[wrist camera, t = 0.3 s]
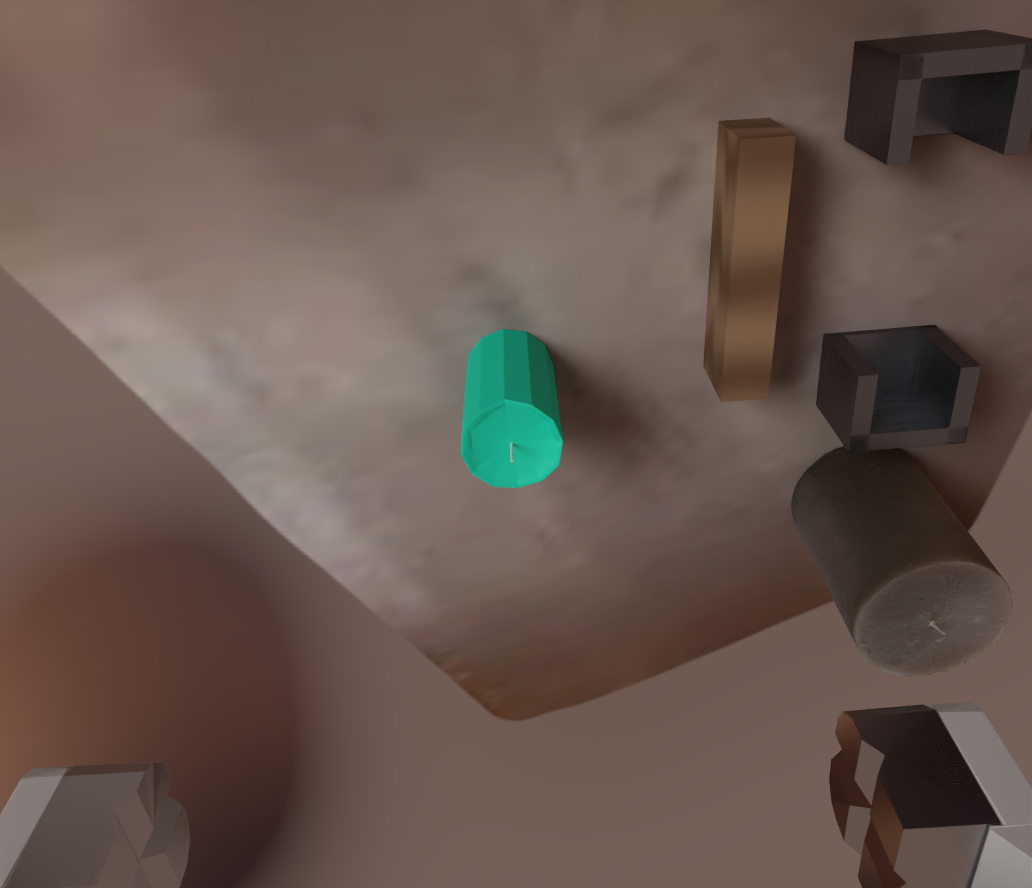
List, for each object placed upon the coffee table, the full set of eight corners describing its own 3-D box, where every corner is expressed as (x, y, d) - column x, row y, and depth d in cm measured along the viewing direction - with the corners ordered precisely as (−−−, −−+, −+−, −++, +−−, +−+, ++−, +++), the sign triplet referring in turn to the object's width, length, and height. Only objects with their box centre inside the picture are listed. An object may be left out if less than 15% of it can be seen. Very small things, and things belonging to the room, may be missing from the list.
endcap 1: (854, 41, 49) (901, 55, 43) (986, 29, 49) (1049, 41, 43) (844, 140, 52) (886, 164, 46) (968, 129, 52) (1026, 152, 46)
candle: (567, 347, 58) (582, 435, 48) (532, 419, 61) (539, 517, 51) (484, 315, 57) (481, 399, 47) (453, 391, 60) (443, 486, 50)
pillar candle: (815, 432, 62) (896, 566, 49) (942, 450, 63) (1055, 585, 50) (773, 539, 67) (837, 685, 54) (892, 554, 68) (983, 701, 55)
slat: (717, 120, 51) (740, 138, 47) (768, 117, 51) (796, 135, 47) (702, 364, 59) (720, 401, 55) (746, 362, 59) (768, 398, 55)
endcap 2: (921, 396, 61) (965, 442, 55) (816, 404, 61) (848, 452, 55) (934, 324, 58) (981, 366, 52) (823, 334, 58) (858, 376, 53)
